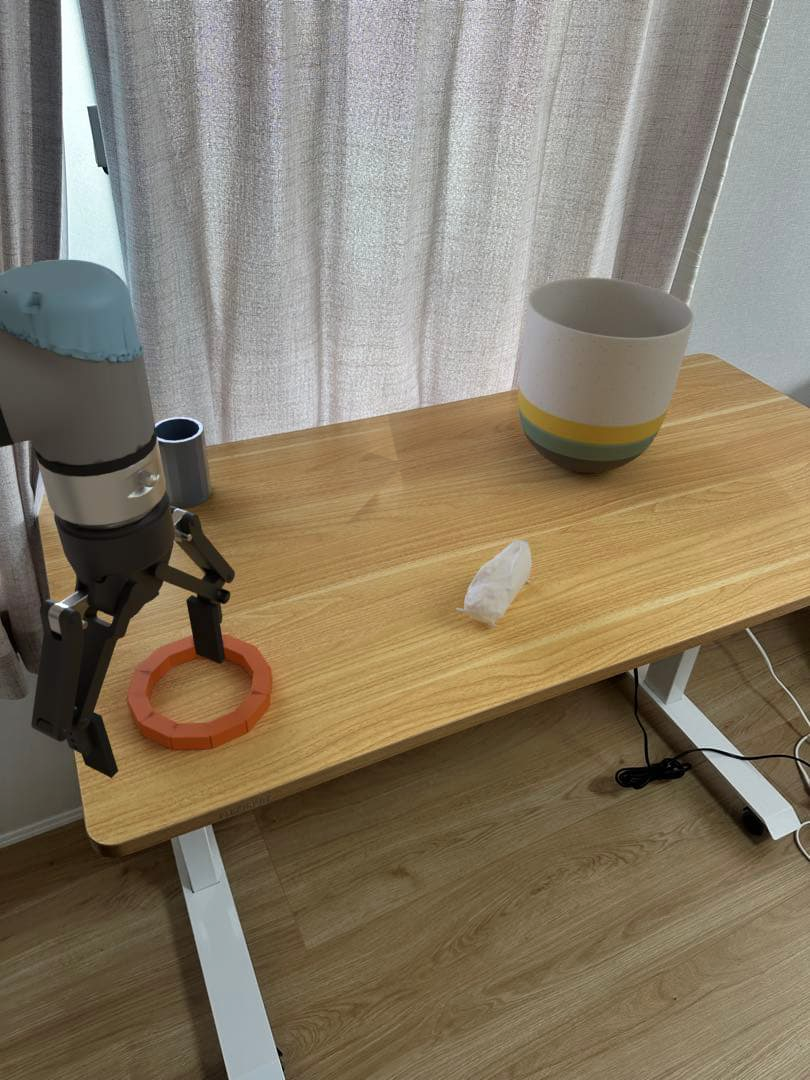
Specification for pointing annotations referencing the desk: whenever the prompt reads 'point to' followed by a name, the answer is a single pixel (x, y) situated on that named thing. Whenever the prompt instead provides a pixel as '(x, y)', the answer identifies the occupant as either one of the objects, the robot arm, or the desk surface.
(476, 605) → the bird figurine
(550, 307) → the planter
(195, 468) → the cup
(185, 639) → the ring
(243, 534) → the desk surface
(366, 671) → the desk surface
